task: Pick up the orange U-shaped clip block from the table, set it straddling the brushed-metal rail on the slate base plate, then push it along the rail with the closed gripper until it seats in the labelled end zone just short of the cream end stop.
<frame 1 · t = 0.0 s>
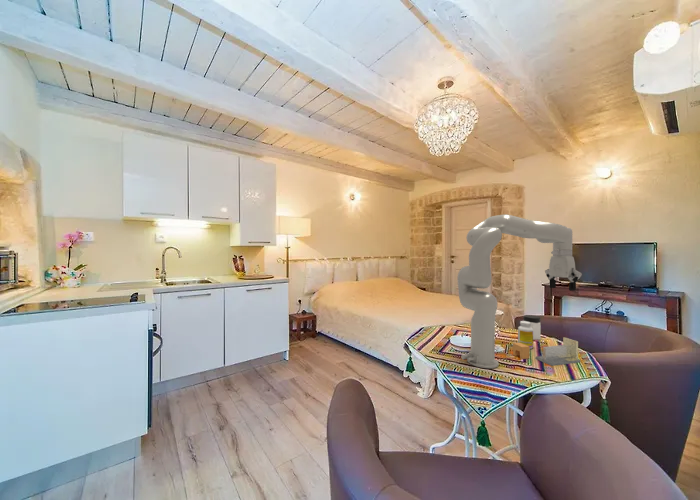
hand: (562, 289, 136), 31 cm above the table, fingers open, 9 cm apart
jar: (531, 337, 162), on the table
supplement bottle: (525, 347, 146), on the table
clip: (521, 356, 133), on the table
flange rail: (557, 360, 128), on the table
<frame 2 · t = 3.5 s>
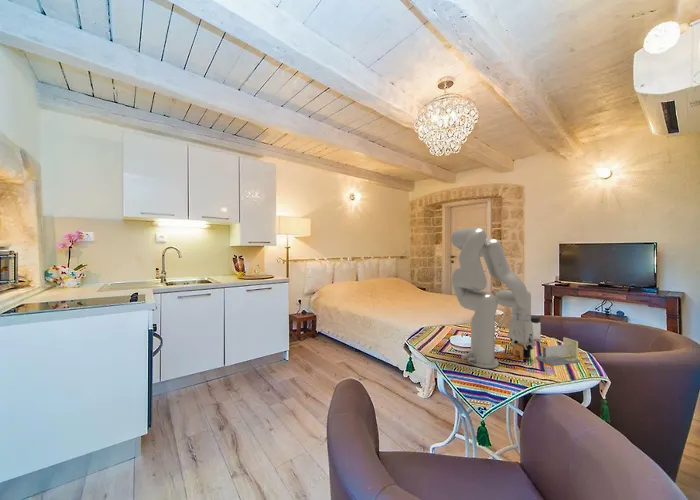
hand: (521, 354, 133), 1 cm above the table, fingers closed on clip, 5 cm apart
clip: (521, 356, 133), on the table, touching gripper
everything else where it was.
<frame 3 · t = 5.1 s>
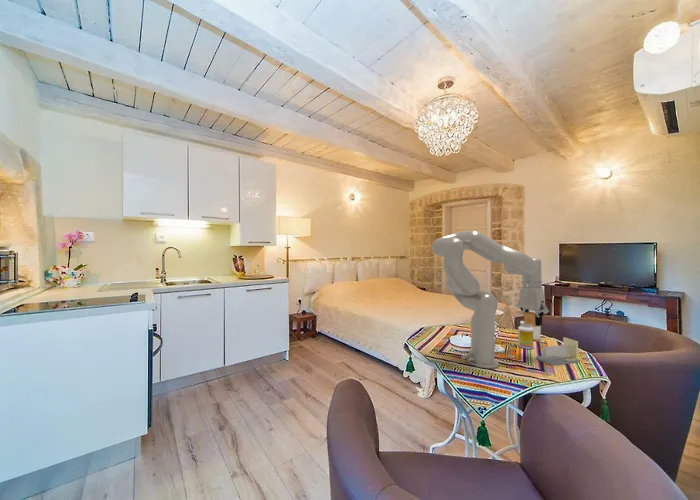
hand: (532, 323, 131), 16 cm above the table, fingers closed on clip, 5 cm apart
clip: (532, 324, 131), point 15 cm above the table, touching gripper
everything else where it was.
when the fingers open (5 cm above the table, at t = 7.0 s): clip stays where it is, resting on flange rail.
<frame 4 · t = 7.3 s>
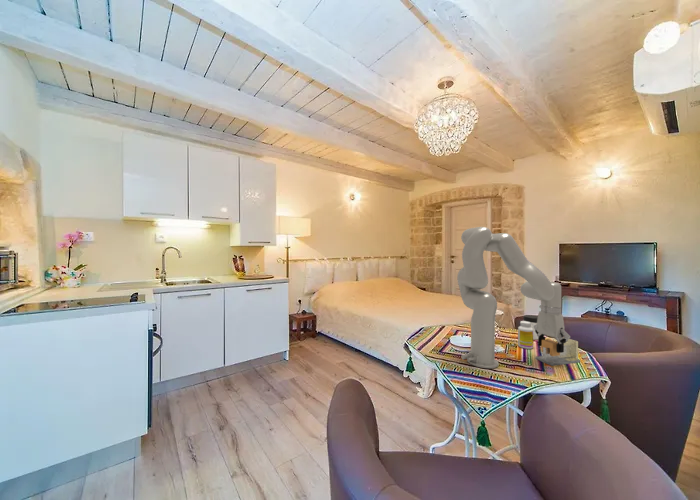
hand: (550, 348, 127), 6 cm above the table, fingers open, 8 cm apart
clip: (550, 353, 127), point 3 cm above the table, touching flange rail
everything else where it was.
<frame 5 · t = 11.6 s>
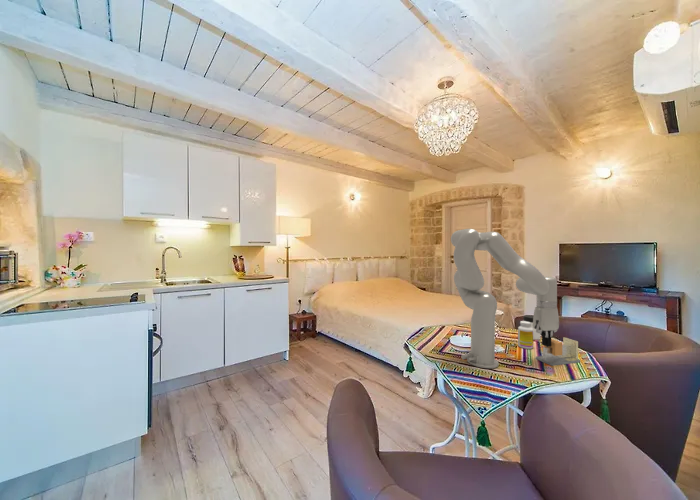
hand: (546, 345, 127), 7 cm above the table, fingers closed
clip: (553, 353, 128), point 4 cm above the table
everything else where it was.
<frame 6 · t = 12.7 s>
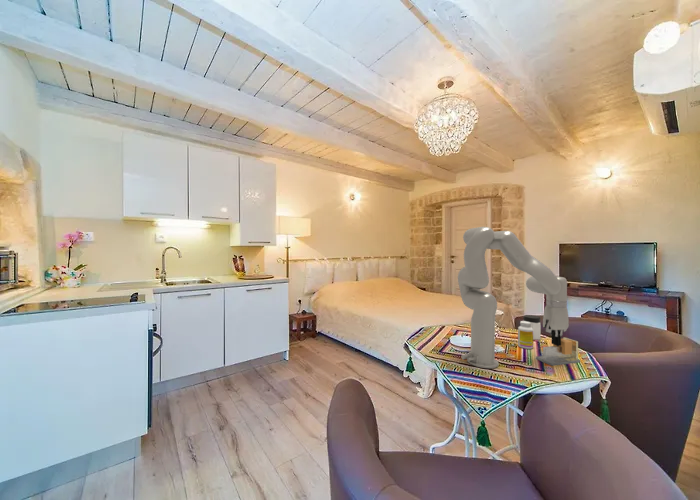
hand: (556, 344, 128), 7 cm above the table, fingers closed
clip: (562, 352, 129), point 3 cm above the table, touching flange rail, gripper
everything else where it was.
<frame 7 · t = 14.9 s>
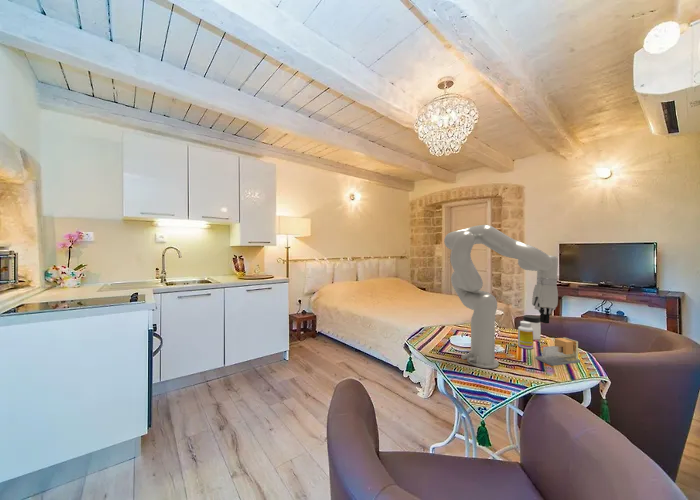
hand: (544, 322, 129), 17 cm above the table, fingers closed
clip: (563, 352, 129), point 3 cm above the table, touching flange rail
everything else where it was.
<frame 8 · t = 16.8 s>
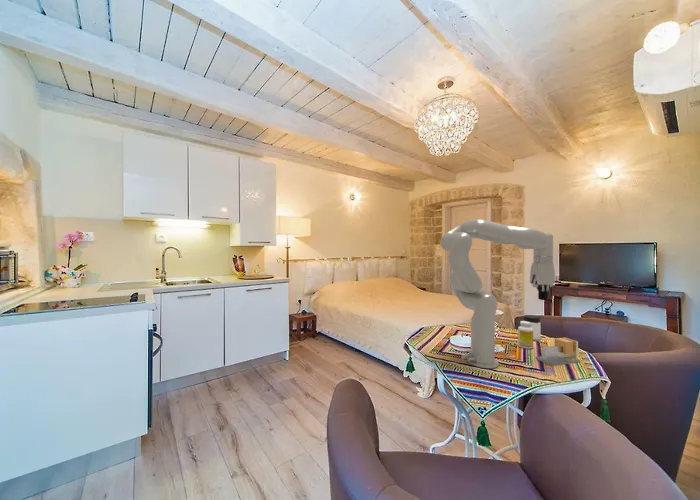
hand: (542, 299, 131), 27 cm above the table, fingers closed
nothing on the table moved.
at the end: clip 0.7 cm from the target spot on the flange rail, point 3.5 cm above the flange rail's base; the gripper is holding nothing; clip tilted 0° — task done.
